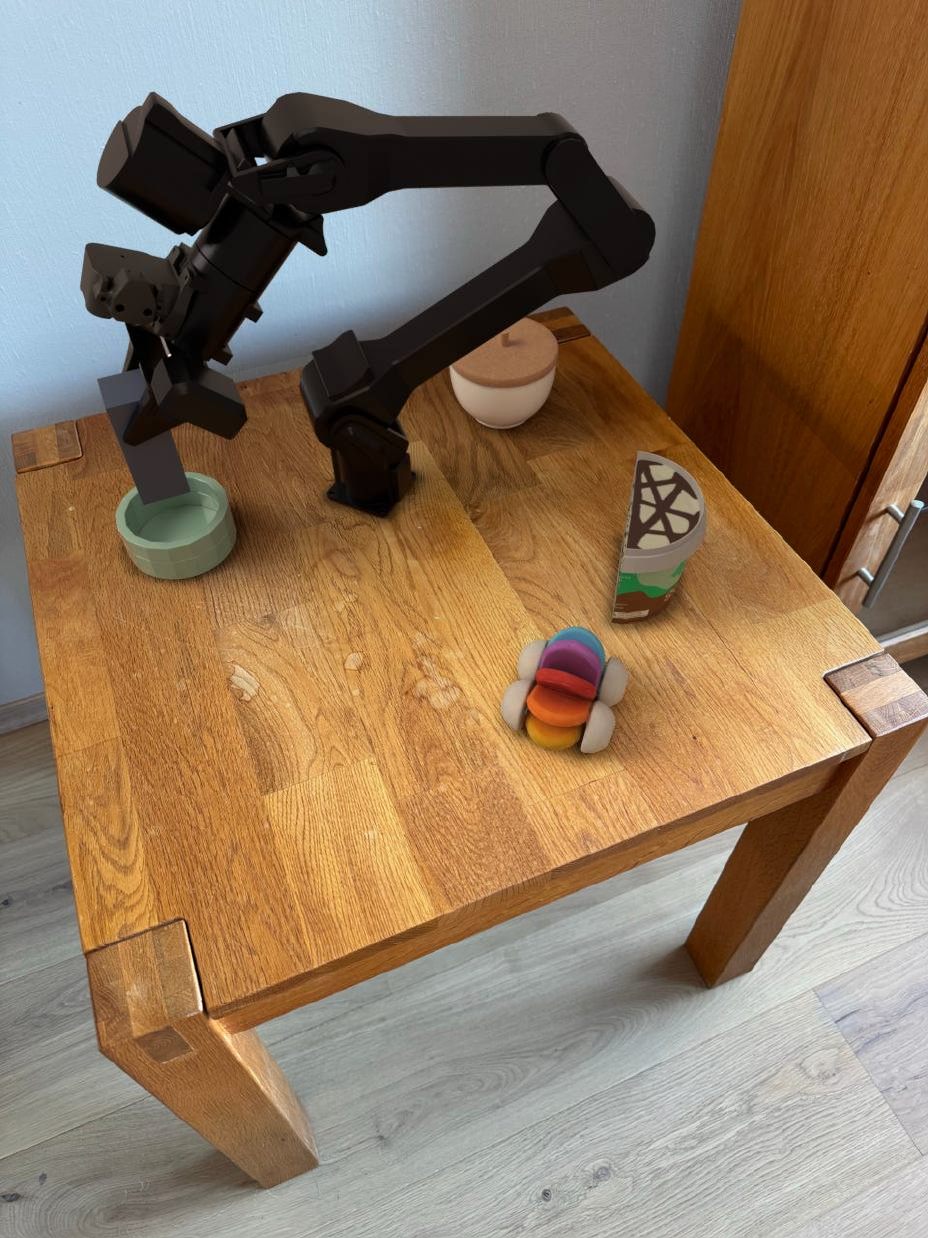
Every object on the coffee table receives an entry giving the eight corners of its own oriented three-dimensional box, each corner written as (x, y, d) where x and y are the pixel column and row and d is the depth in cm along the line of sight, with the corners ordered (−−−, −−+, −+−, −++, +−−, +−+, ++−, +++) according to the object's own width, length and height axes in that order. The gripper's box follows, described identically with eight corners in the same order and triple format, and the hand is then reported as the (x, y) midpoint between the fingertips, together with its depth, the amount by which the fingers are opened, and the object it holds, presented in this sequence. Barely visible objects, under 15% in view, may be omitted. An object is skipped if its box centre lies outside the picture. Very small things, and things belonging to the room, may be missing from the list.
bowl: (107, 557, 82) (92, 526, 79) (174, 491, 87) (163, 459, 84) (193, 594, 79) (182, 562, 76) (257, 523, 84) (249, 491, 81)
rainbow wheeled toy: (491, 743, 69) (492, 688, 64) (530, 647, 75) (534, 589, 69) (600, 776, 67) (611, 723, 62) (631, 675, 73) (644, 618, 67)
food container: (684, 647, 75) (708, 565, 67) (609, 636, 76) (624, 554, 68) (691, 540, 82) (714, 455, 75) (623, 531, 83) (638, 446, 75)
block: (180, 462, 79) (148, 365, 71) (191, 492, 77) (158, 395, 69) (134, 475, 78) (96, 378, 71) (143, 505, 76) (105, 408, 68)
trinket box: (427, 408, 95) (423, 329, 87) (502, 365, 99) (504, 286, 92) (500, 458, 90) (502, 379, 82) (574, 411, 94) (583, 331, 87)
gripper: (104, 147, 66) (7, 318, 72) (155, 275, 55) (36, 464, 61) (234, 228, 74) (136, 376, 80) (301, 354, 63) (183, 515, 69)
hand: (123, 426), depth 72 cm, fingers closed on block, 4 cm apart
